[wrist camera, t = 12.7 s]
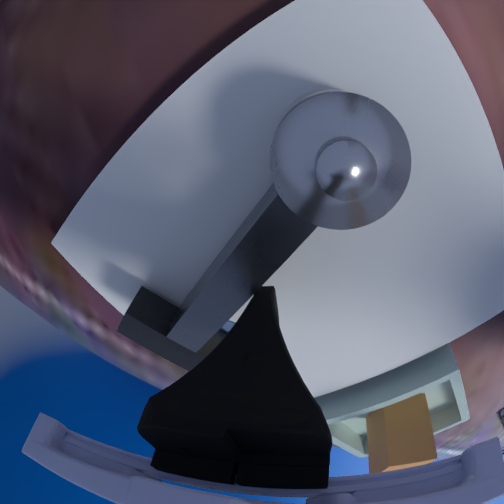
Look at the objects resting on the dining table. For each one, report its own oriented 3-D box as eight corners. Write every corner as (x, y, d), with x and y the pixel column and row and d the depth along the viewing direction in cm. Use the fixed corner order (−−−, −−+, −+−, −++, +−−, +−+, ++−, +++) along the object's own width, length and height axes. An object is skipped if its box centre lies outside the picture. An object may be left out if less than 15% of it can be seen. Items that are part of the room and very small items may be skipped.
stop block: (381, 396, 19) (389, 466, 14) (425, 393, 19) (437, 458, 14) (365, 418, 21) (369, 479, 16) (405, 415, 21) (413, 473, 16)
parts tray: (448, 339, 16) (459, 368, 14) (464, 397, 20) (469, 418, 18) (304, 398, 21) (303, 425, 19) (359, 437, 25) (360, 458, 23)
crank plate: (379, -35, 6) (386, -44, 5) (514, 288, 13) (521, 299, 12) (60, 234, 15) (50, 243, 14) (256, 402, 22) (255, 414, 21)
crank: (295, 48, 8) (297, 35, 5) (425, 159, 9) (463, 189, 7) (132, 304, 15) (108, 345, 13) (224, 356, 16) (213, 399, 14)
